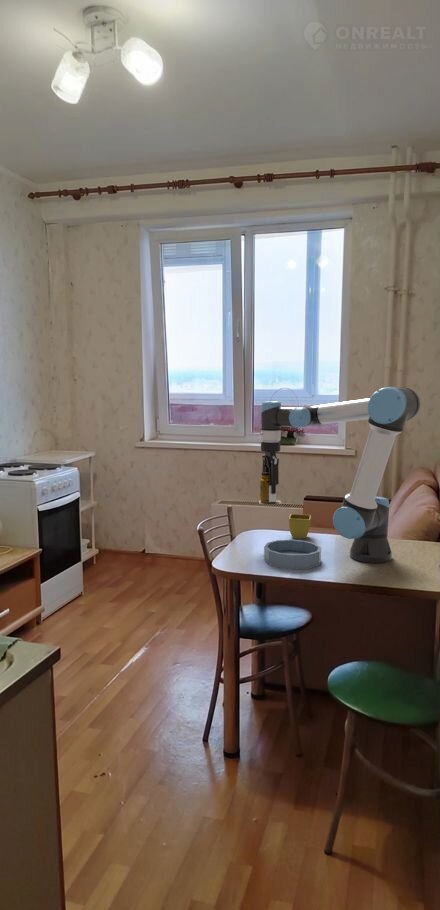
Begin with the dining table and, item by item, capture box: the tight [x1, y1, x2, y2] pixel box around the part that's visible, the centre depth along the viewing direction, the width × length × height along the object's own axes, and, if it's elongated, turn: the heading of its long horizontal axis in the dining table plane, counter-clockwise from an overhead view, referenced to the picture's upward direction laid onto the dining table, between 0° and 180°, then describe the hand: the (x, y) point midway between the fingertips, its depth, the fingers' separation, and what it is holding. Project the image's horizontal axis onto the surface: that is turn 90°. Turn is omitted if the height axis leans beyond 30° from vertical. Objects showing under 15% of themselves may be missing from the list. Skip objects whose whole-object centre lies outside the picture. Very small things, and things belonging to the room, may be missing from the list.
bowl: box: [263, 539, 322, 570], centre depth 212 cm, size 20×20×5 cm
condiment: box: [258, 472, 282, 505], centre depth 227 cm, size 7×8×12 cm
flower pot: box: [288, 513, 312, 540], centre depth 244 cm, size 9×9×9 cm
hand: (269, 499), depth 228 cm, fingers closed on condiment, 6 cm apart
